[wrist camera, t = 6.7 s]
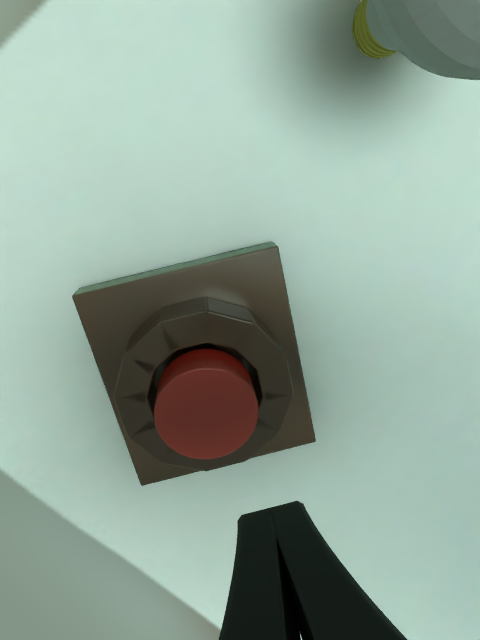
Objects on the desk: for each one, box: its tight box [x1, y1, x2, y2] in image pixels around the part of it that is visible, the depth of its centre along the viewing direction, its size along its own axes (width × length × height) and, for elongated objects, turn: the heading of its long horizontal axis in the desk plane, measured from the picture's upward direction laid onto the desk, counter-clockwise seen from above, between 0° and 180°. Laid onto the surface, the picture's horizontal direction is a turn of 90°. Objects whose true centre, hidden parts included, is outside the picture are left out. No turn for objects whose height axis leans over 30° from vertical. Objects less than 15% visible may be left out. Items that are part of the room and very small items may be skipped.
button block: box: [72, 242, 316, 486], centre depth 18 cm, size 9×8×3 cm
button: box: [154, 349, 259, 459], centre depth 16 cm, size 4×4×2 cm
